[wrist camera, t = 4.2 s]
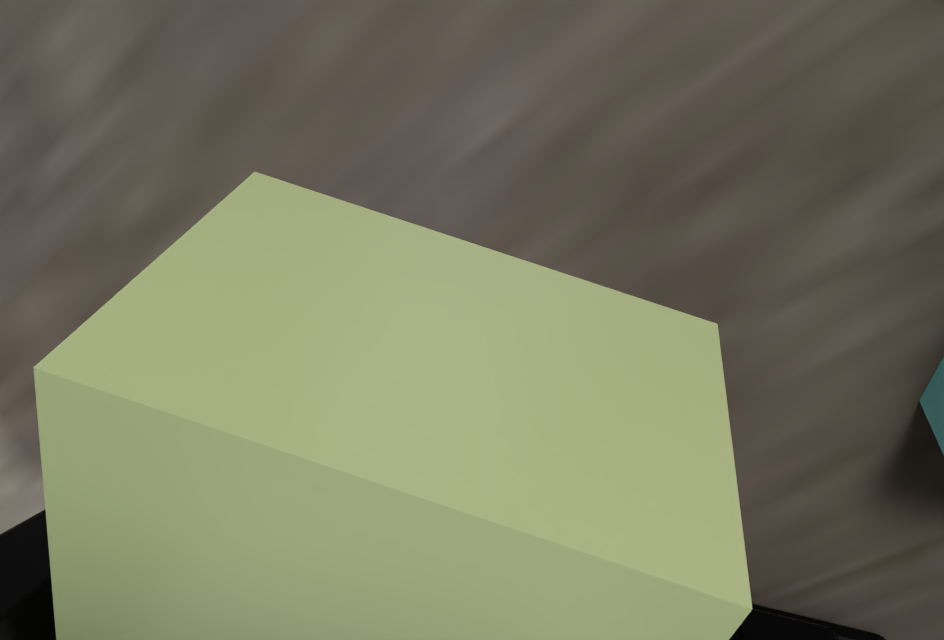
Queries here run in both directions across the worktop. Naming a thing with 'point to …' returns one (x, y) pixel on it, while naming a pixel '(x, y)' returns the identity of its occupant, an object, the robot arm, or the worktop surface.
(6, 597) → the robot arm
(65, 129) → the worktop surface
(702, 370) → the olive brick
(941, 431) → the teal brick
